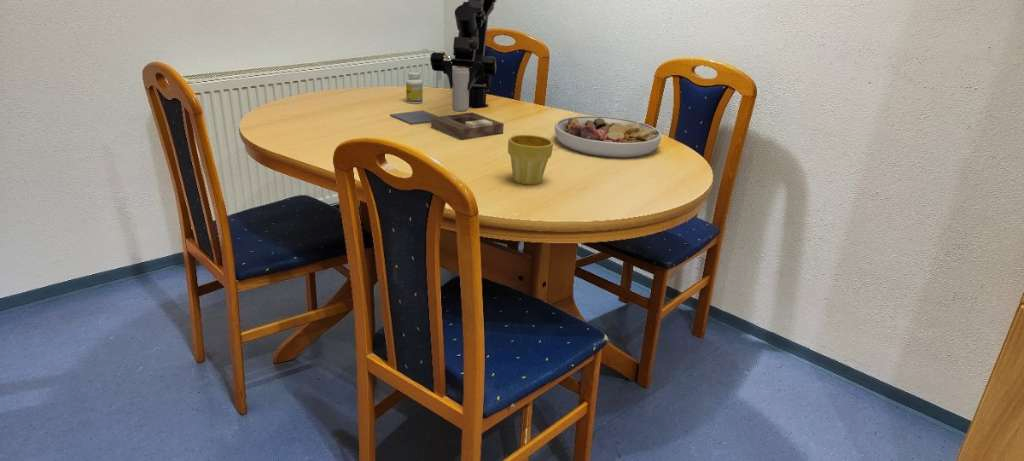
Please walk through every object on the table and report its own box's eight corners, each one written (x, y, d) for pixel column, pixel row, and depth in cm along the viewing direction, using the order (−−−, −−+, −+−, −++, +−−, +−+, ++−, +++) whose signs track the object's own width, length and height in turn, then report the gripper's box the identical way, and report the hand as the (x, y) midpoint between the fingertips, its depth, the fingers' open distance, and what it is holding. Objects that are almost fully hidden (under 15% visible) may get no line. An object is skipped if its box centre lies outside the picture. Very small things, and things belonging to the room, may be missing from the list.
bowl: (580, 126, 211) (583, 101, 208) (673, 144, 197) (677, 118, 194) (534, 146, 187) (536, 118, 183) (636, 168, 173) (640, 139, 170)
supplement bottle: (405, 100, 228) (405, 71, 224) (420, 100, 229) (421, 71, 226) (407, 104, 223) (407, 74, 219) (423, 104, 225) (424, 74, 221)
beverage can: (469, 108, 197) (470, 67, 192) (468, 112, 193) (468, 70, 188) (453, 108, 197) (453, 66, 193) (451, 111, 193) (451, 69, 188)
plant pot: (558, 181, 159) (562, 141, 155) (530, 190, 151) (533, 148, 148) (525, 170, 165) (528, 131, 161) (496, 178, 158) (499, 138, 154)
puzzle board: (472, 122, 206) (472, 109, 205) (503, 133, 196) (503, 120, 194) (431, 127, 197) (431, 114, 195) (461, 140, 187) (461, 126, 185)
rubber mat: (423, 111, 214) (423, 110, 214) (444, 120, 206) (444, 118, 206) (390, 115, 207) (390, 114, 207) (411, 124, 199) (411, 123, 198)
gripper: (431, 22, 190) (423, 69, 184) (497, 27, 189) (490, 74, 183) (436, 47, 200) (428, 91, 195) (498, 52, 199) (492, 97, 194)
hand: (459, 88), depth 191 cm, fingers closed on beverage can, 5 cm apart
